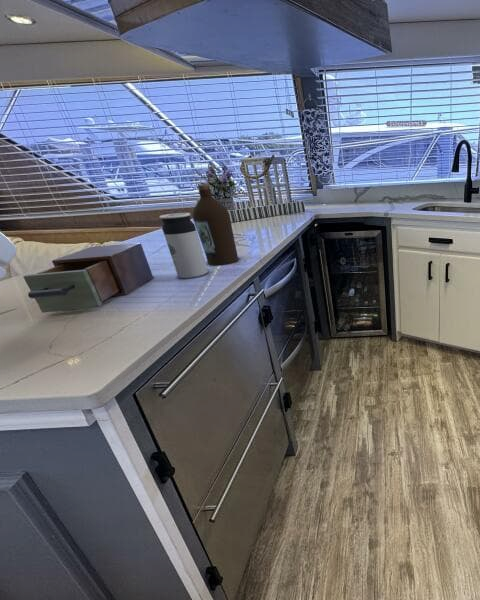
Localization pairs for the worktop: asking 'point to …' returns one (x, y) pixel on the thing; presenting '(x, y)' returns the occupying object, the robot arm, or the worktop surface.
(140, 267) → the storage box
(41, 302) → the drawer
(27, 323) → the worktop surface
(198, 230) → the olive oil
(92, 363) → the worktop surface
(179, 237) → the travel mug
